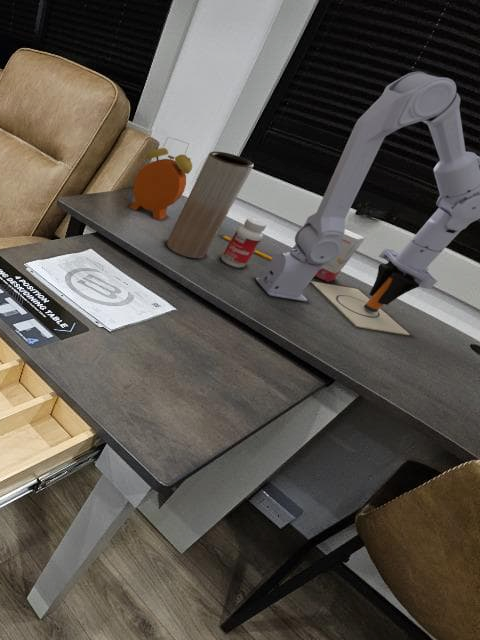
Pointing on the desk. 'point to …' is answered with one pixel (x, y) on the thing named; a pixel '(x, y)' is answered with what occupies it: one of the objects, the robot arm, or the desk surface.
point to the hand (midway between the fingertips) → (378, 299)
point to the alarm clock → (160, 182)
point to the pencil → (254, 251)
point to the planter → (208, 203)
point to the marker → (379, 295)
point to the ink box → (340, 256)
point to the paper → (358, 308)
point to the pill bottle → (244, 243)
